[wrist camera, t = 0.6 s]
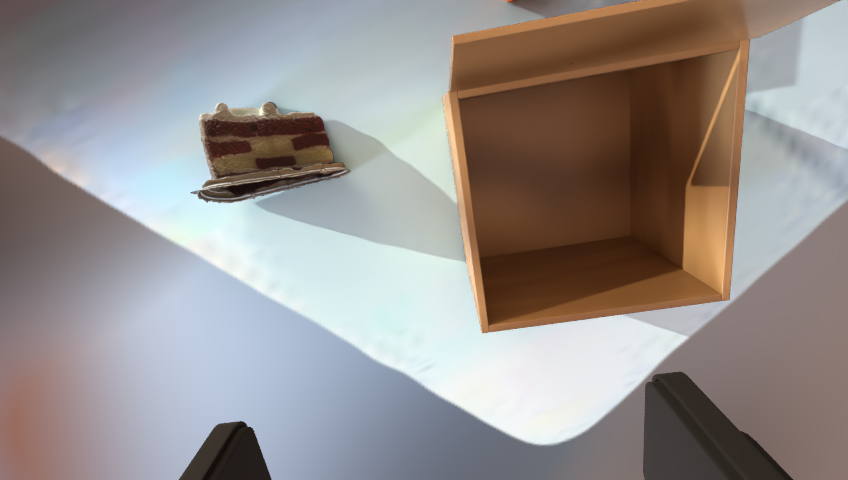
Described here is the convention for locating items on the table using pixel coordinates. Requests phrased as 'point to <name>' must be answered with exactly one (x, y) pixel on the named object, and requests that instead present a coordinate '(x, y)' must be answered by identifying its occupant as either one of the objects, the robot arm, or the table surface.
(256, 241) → the table surface
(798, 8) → the flap
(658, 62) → the carton
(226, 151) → the chocolate cake
